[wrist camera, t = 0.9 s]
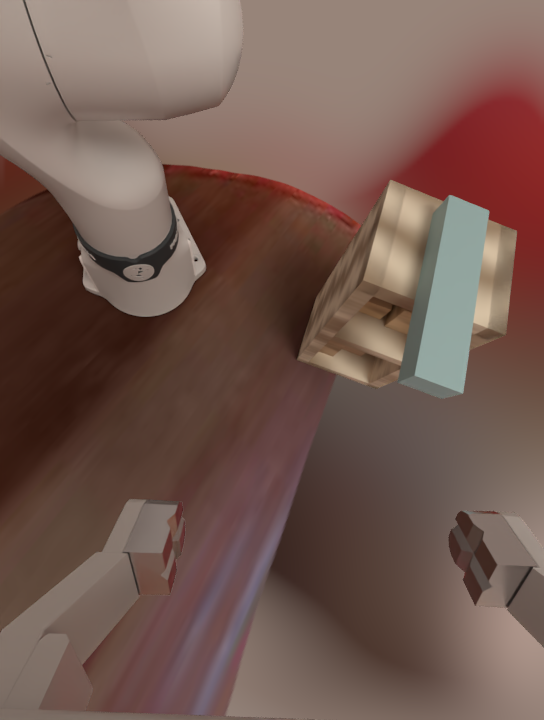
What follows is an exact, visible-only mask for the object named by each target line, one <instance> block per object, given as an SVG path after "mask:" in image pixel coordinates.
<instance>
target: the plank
mask: <svg viewBox="0 0 544 720" xmlns="http://www.w3.org/2000/svg"><path fill="white" fill-rule="evenodd" d="M488 216H489V211H488V210H486V209H484V208H481V207H479V206H476V205H474V204H471V203H468V202H466V201H464V200H461V199H459V198H457V197H454V196H451V195H449V196H448V197H447V198H446V199H445V201H444V202H443V203H442V204H441V205H440V206H439V207H438V208H437V209H436V211H435V212H434V213H433V215H432V220H431V225H430V230H429V235H428V239H427V244H426V249H425V254H424V258H423V263H422V268H421V273H420V277H419V282H418V287H417V292H416V296H415V301H414V306H413V311H412V315H411V320H410V325H409V330H408V334H407V339H406V344H405V349H404V353H403V358H402V363H401V368H400V373H399V377H398V383H400V384H403V385H406V386H408V387H412V388H414V389H417V390H419V391H422V392H425V393H428V394H430V395H433V396H436V397H438V398H441V399H443V398H447V397H451V396H455V395H459V394H462V393H463V390H464V382H465V376H466V369H467V362H468V355H469V349H470V342H471V335H472V328H473V321H474V314H475V307H476V300H477V293H478V286H479V279H480V272H481V265H482V258H483V251H484V244H485V237H486V230H487V223H488Z"/></svg>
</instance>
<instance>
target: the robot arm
mask: <svg viewBox="0 0 544 720" xmlns="http://www.w3.org/2000/svg"><path fill="white" fill-rule="evenodd" d="M242 44H243V17H242V8H241V2H240V0H0V155H2V156H3V157H4V158H6V159H8V160H9V161H11V162H12V163H14V164H15V165H17V166H18V167H20V168H21V169H23V170H24V171H25V172H27V173H28V174H30V175H31V176H32V177H34V178H35V179H36V180H37V181H39V182H40V183H41V184H42V185H43V186H44V187H46V188H47V189H48V190H49V192H50V193H51V194H52V195H53V196H54V197H55V199H56V200H57V201H58V203H59V204H60V205H61V206H62V208H63V209H64V211H65V212H66V213H67V215H68V216H69V218H70V219H71V221H72V222H73V227H74V230H75V233H76V235H77V238H78V240H79V241H78V248H79V250H80V251H81V255H80V256H79V259H80V262H81V264H82V265H83V267H84V271H83V285H84V287H85V289H86V290H88V291H89V292H91V293H94V294H96V295H99V296H102V297H104V298H105V299H107V300H108V301H109V302H110V303H111V304H112V305H113V306H115V307H116V308H117V309H119V310H121V311H123V312H125V313H127V314H131V315H135V316H142V317H150V316H157V315H161V314H164V313H167V312H169V311H171V310H173V309H174V308H176V307H177V306H178V305H180V304H181V303H182V302H183V301H184V300H185V298H186V297H187V296H188V294H189V292H190V290H191V288H192V286H193V284H194V282H195V281H196V280H197V279H198V278H199V277H200V276H201V275H202V274H203V273H204V272H205V270H206V264H205V262H204V260H203V258H202V256H201V254H200V252H199V250H198V248H197V246H196V244H195V242H194V240H193V238H192V236H191V234H190V232H189V230H188V228H187V226H186V224H185V222H184V220H183V218H182V216H181V214H180V212H179V210H178V208H177V206H176V204H175V202H174V200H173V199H172V198H171V197H169V196H168V192H167V186H166V181H165V175H164V170H163V166H162V163H161V161H160V159H159V157H158V155H157V154H156V152H155V151H154V149H153V148H152V147H151V145H150V144H149V143H148V142H147V141H146V139H145V138H144V137H143V136H142V135H141V134H140V133H139V132H138V131H137V130H135V129H134V128H132V127H131V126H130V125H128V124H127V123H125V122H123V121H121V120H167V119H171V118H175V117H180V116H184V115H188V114H192V113H195V112H199V111H203V110H207V109H210V108H214V107H217V106H219V105H220V104H221V102H222V101H223V100H224V98H225V97H226V95H227V94H228V92H229V90H230V88H231V86H232V84H233V82H234V80H235V77H236V74H237V71H238V67H239V63H240V59H241V53H242ZM195 259H196V260H198V261H196V262H195V261H194V260H195ZM182 513H183V504H182V502H178V501H162V500H145V499H129V500H128V502H127V503H126V504H125V506H124V508H123V510H122V512H121V514H120V516H119V518H118V520H117V522H116V524H115V526H114V528H113V530H112V532H111V534H110V536H109V538H108V540H107V542H106V544H105V546H104V549H103V551H102V552H96V553H95V554H94V555H92V556H91V557H90V558H89V559H87V560H86V561H85V562H84V563H83V564H81V565H80V566H79V567H78V568H77V569H75V570H74V571H73V572H72V573H70V574H69V575H68V576H67V577H66V578H64V579H63V580H62V581H61V582H60V583H58V584H57V585H56V586H55V587H53V588H52V589H51V590H50V591H49V592H47V593H46V594H45V595H44V596H43V597H41V598H40V599H39V600H38V601H36V602H35V603H34V604H33V605H32V606H30V607H29V608H28V609H27V610H26V611H24V612H23V613H22V614H21V615H20V616H18V617H17V618H16V619H15V620H13V621H12V622H11V623H10V624H9V625H7V626H6V627H5V628H4V629H3V630H2V631H1V633H0V720H313V719H286V718H285V719H284V718H259V717H231V716H230V717H229V716H204V715H177V714H149V713H122V712H95V711H86V708H87V705H88V702H89V700H90V697H91V694H92V691H93V689H92V686H91V683H90V681H89V679H88V677H87V675H86V673H85V671H84V669H83V667H82V664H83V663H84V662H85V661H86V660H87V659H88V657H89V656H90V655H91V654H92V653H93V651H94V650H95V649H96V648H97V647H98V645H99V644H100V643H101V642H102V641H103V640H104V638H105V637H106V636H107V635H108V634H109V632H110V631H111V630H112V629H113V628H114V626H115V625H116V624H117V623H118V622H119V621H120V619H121V618H122V617H123V616H124V615H125V613H126V612H127V611H128V610H129V609H130V607H131V606H132V605H133V604H134V603H135V602H136V600H137V599H138V598H139V595H171V591H172V587H173V583H174V580H175V576H176V572H177V566H176V559H177V558H178V557H179V556H180V555H181V554H182V550H183V546H184V540H185V528H186V525H185V520H184V519H183V518H182V517H181V516H182ZM456 521H457V523H458V525H457V526H455V527H454V528H452V529H451V531H450V534H449V548H450V552H451V555H452V557H453V560H454V562H455V564H456V565H457V566H458V567H459V568H460V569H462V570H463V571H464V572H465V573H464V578H463V581H464V583H465V585H466V587H467V590H468V592H469V594H470V596H471V598H472V600H473V602H474V604H475V606H485V607H500V608H508V609H507V610H508V611H509V612H510V613H511V614H512V616H514V618H515V619H516V620H517V621H518V622H519V623H520V624H521V625H522V626H523V627H524V628H525V629H526V630H527V631H528V632H529V633H530V634H531V635H532V636H533V637H534V638H535V639H536V640H537V641H538V642H539V643H540V644H541V645H542V646H543V647H544V548H543V546H542V545H541V544H540V542H539V541H538V539H537V538H536V537H535V535H534V534H533V533H532V531H531V530H530V529H529V528H528V526H527V525H526V523H525V522H524V521H523V519H522V518H521V517H520V516H519V515H518V514H516V513H515V512H495V511H460V512H459V513H458V514H457V517H456Z"/></svg>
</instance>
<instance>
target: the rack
mask: <svg viewBox="0 0 544 720" xmlns="http://www.w3.org/2000/svg"><path fill="white" fill-rule="evenodd" d="M443 202H444V201H441V200H438V199H436V198H434V197H431V196H429V195H426V194H424V193H421V192H419V191H417V190H414V189H412V188H409V187H407V186H404V185H402V184H399V183H397V182H394V181H392V180H390V182H389V183H388V185H387V186H386V188H385V189H384V191H383V193H382V194H381V196H380V197H379V199H378V200H377V202H376V204H375V205H374V207H373V208H372V210H371V212H370V213H369V215H368V216H367V218H366V219H365V221H364V223H363V224H362V226H361V227H360V229H359V230H358V232H357V234H356V235H355V237H354V238H353V240H352V241H351V243H350V245H349V246H348V248H347V249H346V251H345V253H344V254H343V256H342V257H341V259H340V260H339V262H338V264H337V265H336V267H335V268H334V270H333V272H332V273H331V275H330V276H329V278H328V279H327V281H326V283H325V284H324V286H323V287H322V289H321V290H320V292H319V294H318V295H317V297H316V300H315V303H314V306H313V309H312V312H311V315H310V319H309V322H308V325H307V328H306V331H305V334H304V337H303V341H302V344H301V347H300V350H299V353H298V356H297V360H298V361H301V362H304V363H307V364H309V365H312V366H315V367H318V368H320V369H323V370H326V371H329V372H331V373H334V374H337V375H340V376H342V377H345V378H348V379H350V380H353V381H356V382H359V383H362V384H364V385H367V386H370V387H372V388H375V389H377V388H379V387H382V386H384V385H387V384H389V383H391V382H394V381H396V380H398V377H399V373H400V368H401V363H402V358H403V353H404V349H405V344H406V339H407V334H408V330H409V325H410V320H411V315H412V311H413V306H414V301H415V296H416V292H417V287H418V282H419V277H420V273H421V268H422V263H423V258H424V254H425V249H426V244H427V239H428V235H429V230H430V225H431V220H432V215H433V213H434V212H435V211H436V209H437V208H438V207H439V206H440V205H441V204H442V203H443ZM516 235H517V231H515V230H513V229H510V228H508V227H505V226H503V225H500V224H498V223H495V222H493V221H490V220H488V223H487V230H486V237H485V244H484V251H483V258H482V265H481V272H480V279H479V286H478V293H477V300H476V307H475V314H474V321H473V328H472V335H471V342H470V349H469V350H471V349H473V348H475V347H478V346H481V345H483V344H485V343H488V342H490V341H492V340H495V339H497V338H500V337H502V336H505V335H506V328H507V318H508V310H509V300H510V291H511V281H512V273H513V262H514V253H515V244H516Z"/></svg>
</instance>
